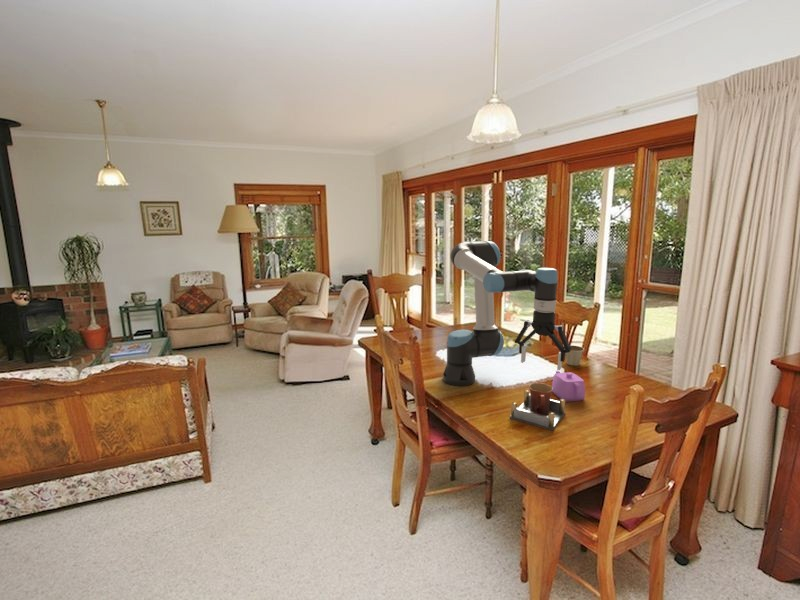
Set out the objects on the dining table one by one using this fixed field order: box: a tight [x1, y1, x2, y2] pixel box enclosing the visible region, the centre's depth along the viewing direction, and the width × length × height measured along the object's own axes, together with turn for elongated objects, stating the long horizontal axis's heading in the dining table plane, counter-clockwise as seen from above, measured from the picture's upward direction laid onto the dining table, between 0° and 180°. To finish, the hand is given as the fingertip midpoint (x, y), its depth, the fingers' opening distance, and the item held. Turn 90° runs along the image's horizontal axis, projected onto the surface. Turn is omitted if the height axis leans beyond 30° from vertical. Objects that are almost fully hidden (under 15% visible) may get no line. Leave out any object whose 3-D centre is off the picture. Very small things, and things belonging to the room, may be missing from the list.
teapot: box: [551, 370, 586, 402], centre depth 176 cm, size 18×10×10 cm, turn 8°
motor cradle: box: [509, 389, 566, 431], centre depth 158 cm, size 16×16×6 cm
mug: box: [528, 382, 553, 415], centre depth 157 cm, size 12×9×10 cm
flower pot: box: [565, 344, 585, 367], centre depth 213 cm, size 9×9×9 cm
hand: (540, 365), depth 155 cm, fingers open, 13 cm apart
